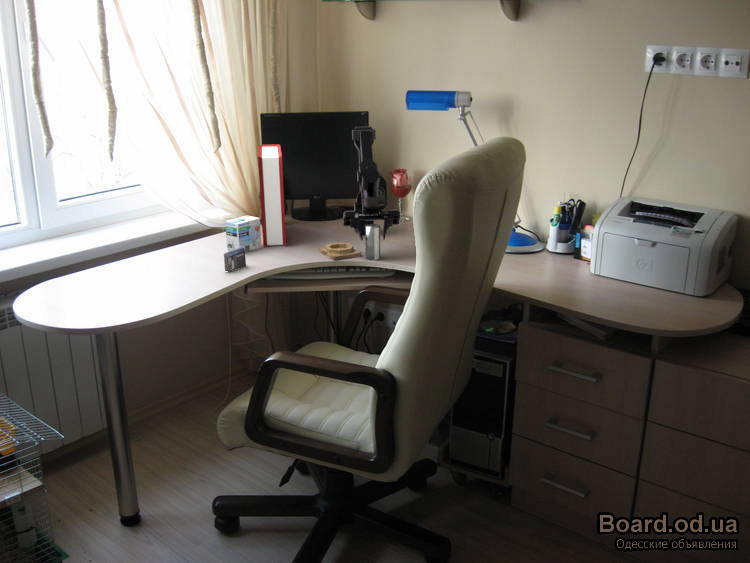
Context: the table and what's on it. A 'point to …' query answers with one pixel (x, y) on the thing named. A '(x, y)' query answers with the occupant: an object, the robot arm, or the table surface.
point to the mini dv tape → (234, 259)
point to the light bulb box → (243, 233)
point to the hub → (339, 251)
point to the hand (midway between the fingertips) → (373, 239)
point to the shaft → (372, 241)
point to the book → (272, 194)
